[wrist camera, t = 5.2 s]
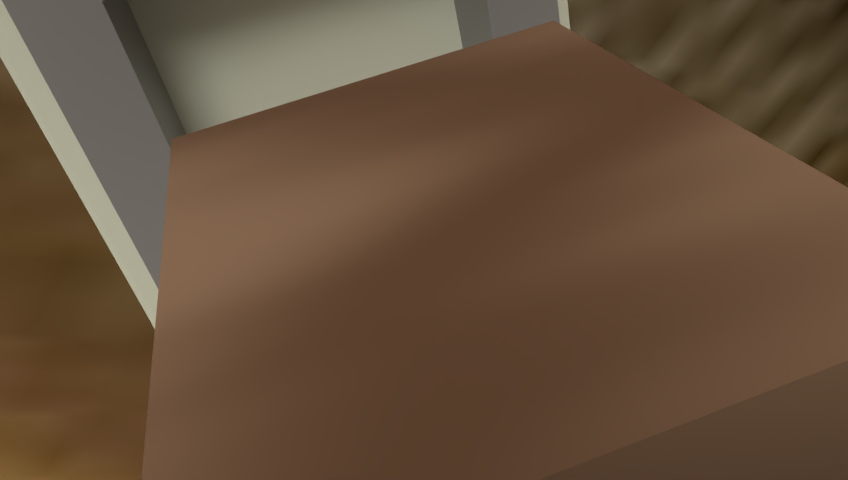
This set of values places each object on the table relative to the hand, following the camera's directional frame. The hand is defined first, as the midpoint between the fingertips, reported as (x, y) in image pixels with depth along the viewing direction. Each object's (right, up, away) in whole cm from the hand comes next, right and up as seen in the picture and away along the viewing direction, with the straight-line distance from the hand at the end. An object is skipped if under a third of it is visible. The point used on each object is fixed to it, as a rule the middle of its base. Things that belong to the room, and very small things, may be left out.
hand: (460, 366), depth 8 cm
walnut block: (0, +1, +1) cm, 1 cm away
